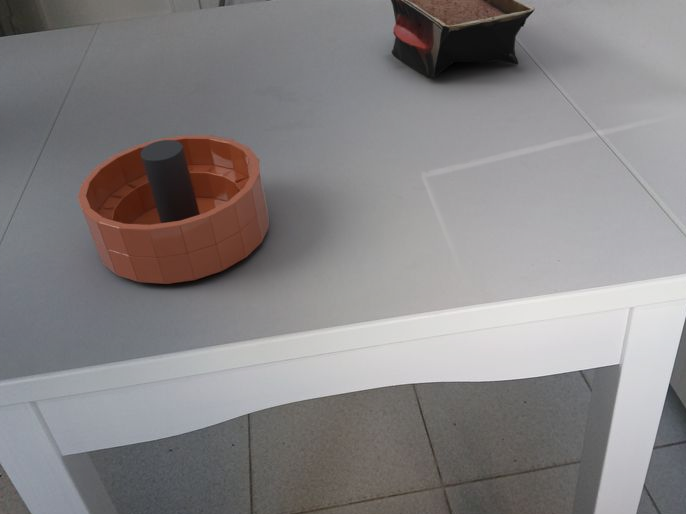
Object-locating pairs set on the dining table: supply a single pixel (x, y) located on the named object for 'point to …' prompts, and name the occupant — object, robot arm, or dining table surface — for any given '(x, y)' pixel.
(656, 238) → the dining table surface
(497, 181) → the dining table surface
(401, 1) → the black soil planter box
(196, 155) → the bowl
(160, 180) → the dark grey cylinder
